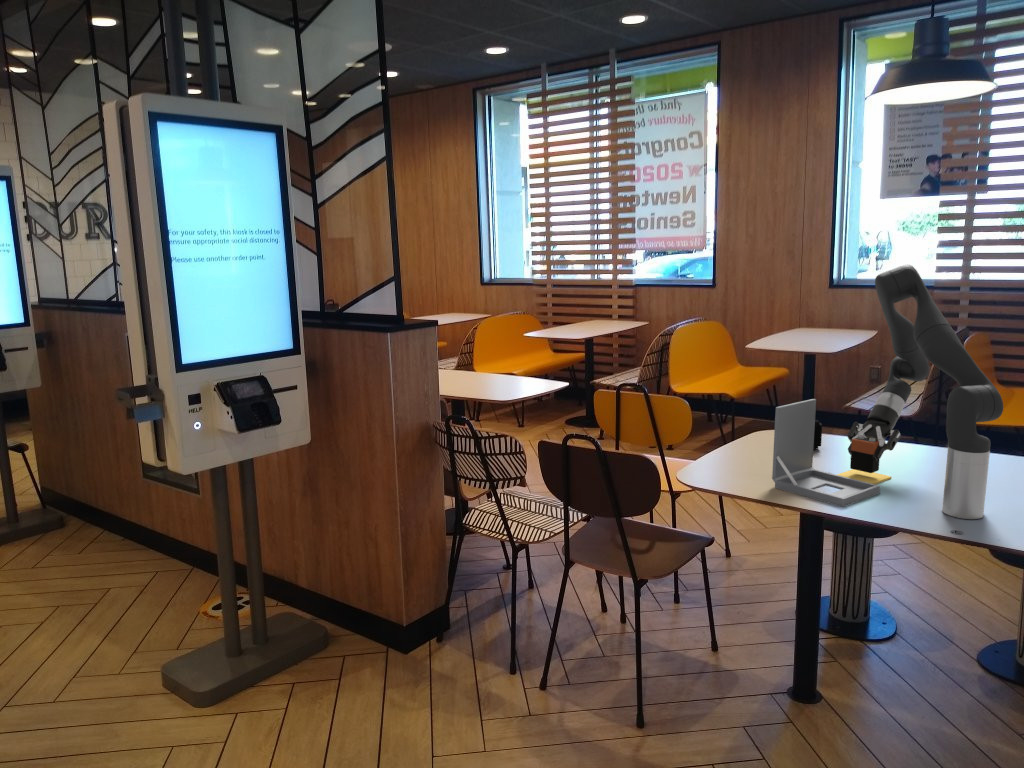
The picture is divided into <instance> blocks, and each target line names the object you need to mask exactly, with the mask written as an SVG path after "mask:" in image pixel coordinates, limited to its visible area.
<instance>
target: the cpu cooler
mask: <svg viewBox="0 0 1024 768" xmlns="http://www.w3.org/2000/svg"><path fill="white" fill-rule="evenodd" d="M822 435H823V424H822V422H820V421H819V420H818V419H815V429H814V446H813V450H814V449H817V450H819V447H822V441H823V440H822V439H823V438H822V437H823V436H822Z"/></svg>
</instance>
